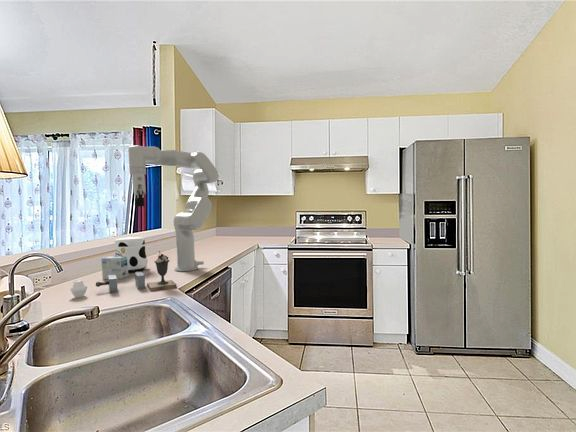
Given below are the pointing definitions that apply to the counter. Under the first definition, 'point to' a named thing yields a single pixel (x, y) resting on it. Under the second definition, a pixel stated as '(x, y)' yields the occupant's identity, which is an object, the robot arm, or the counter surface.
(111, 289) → the vise
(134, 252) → the milk container
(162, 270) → the sundae
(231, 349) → the counter surface
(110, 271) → the light bulb box
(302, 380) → the counter surface
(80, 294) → the white faceted knobby ball
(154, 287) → the walnut board
